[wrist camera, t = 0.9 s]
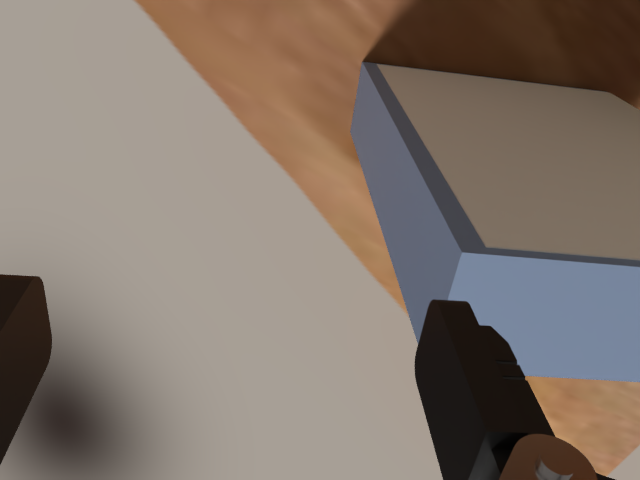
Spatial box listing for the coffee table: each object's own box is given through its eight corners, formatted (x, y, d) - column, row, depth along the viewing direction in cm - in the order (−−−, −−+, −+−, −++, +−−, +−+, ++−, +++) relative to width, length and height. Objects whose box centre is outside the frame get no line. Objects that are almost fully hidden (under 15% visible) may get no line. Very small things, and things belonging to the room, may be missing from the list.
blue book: (362, 60, 35) (462, 250, 17) (606, 90, 37) (944, 290, 19) (350, 132, 38) (425, 371, 19) (581, 157, 40) (858, 395, 21)
